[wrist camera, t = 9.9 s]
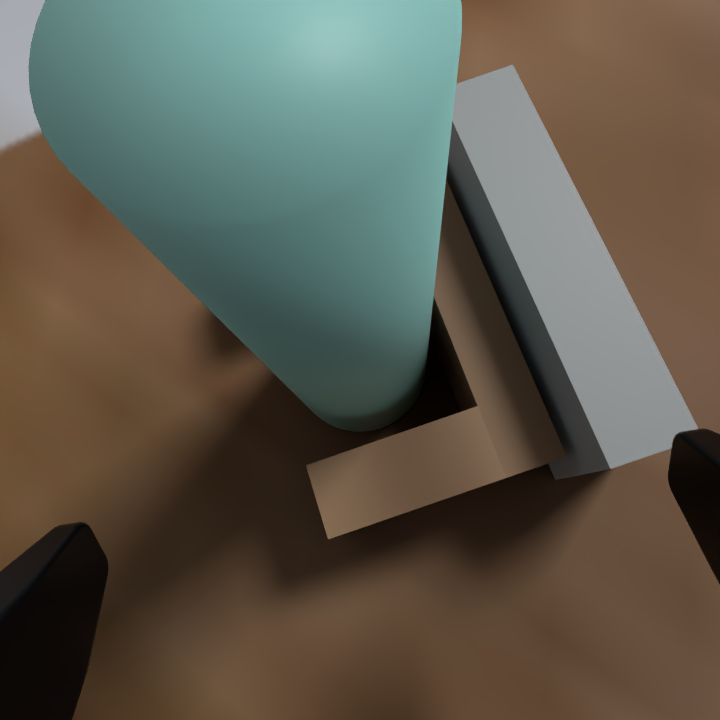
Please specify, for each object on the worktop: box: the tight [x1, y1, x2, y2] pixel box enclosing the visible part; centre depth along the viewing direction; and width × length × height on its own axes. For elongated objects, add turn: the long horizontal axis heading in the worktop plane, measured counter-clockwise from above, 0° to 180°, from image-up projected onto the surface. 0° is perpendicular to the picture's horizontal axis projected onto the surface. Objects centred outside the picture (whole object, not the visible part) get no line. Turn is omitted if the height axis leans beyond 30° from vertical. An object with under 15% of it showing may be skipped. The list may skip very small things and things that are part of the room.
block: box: [306, 180, 567, 539], centre depth 16 cm, size 6×9×3 cm, turn 18°
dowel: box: [29, 0, 462, 432], centre depth 11 cm, size 4×4×12 cm
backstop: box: [446, 65, 698, 480], centre depth 15 cm, size 2×10×4 cm, turn 19°
